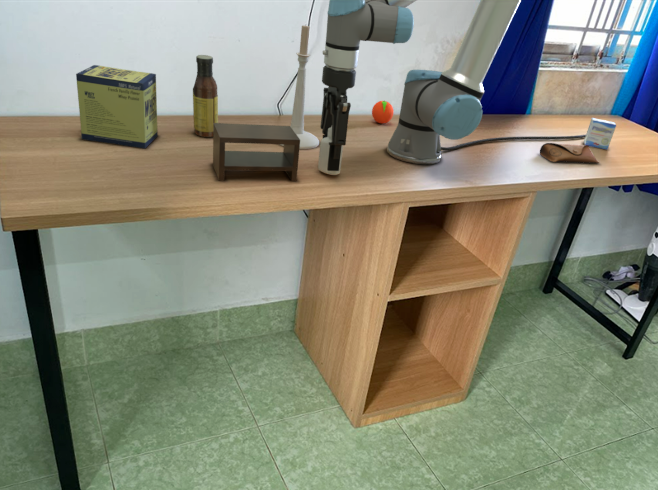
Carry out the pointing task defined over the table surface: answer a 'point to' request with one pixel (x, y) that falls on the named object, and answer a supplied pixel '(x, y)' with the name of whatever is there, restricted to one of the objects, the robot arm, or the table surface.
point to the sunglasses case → (567, 153)
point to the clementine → (382, 112)
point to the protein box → (117, 106)
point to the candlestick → (302, 96)
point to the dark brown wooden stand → (251, 158)
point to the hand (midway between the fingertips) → (329, 165)
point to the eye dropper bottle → (327, 154)
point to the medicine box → (599, 133)
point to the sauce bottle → (205, 97)
